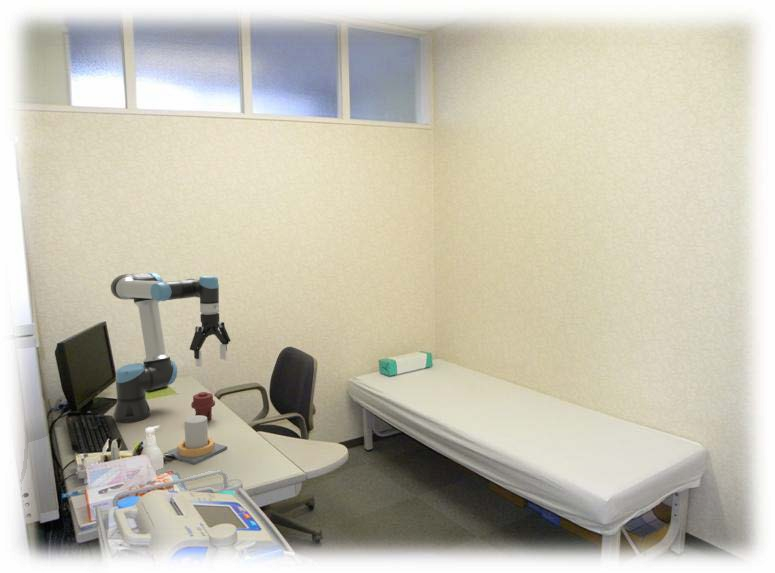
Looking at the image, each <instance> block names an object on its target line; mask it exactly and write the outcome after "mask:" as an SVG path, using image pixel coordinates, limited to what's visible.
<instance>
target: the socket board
mask: <svg viewBox="0 0 775 573" xmlns="http://www.w3.org/2000/svg"><path fill="white" fill-rule="evenodd" d="M176 446H177V447H175V448H173V449H170V450H168V451H165V452H164V455H165V454H174V455H175V457H176V458H177V459H176V460H179V461H183V462H185V463H189V464H192V465H197V464H200V463H201V462H203V461H206V460H207V459H209V458H212V457H213V456H215V455H217V454H220V453H221V452H224V451H226V450H228V446H227V445H224V444H220V443H216V441H215V440H214V439H213V438H212V437H209V436H208V445H206V446H204V447H201V448H196V449H188V448H185V439H183V440H181V441H180V442H179V443H178V444H177V445H176Z"/></svg>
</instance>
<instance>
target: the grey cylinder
mask: <svg viewBox="0 0 775 573" xmlns="http://www.w3.org/2000/svg"><path fill="white" fill-rule="evenodd" d="M208 431H209V430H208V420H207V417H206V416H202V415H197V416H195V415H191V416H188V417H186V418H185V419H184V440H185V448H188V449H196V448H201V447H204V446H206V445H208V437H209V435H208Z"/></svg>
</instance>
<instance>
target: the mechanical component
mask: <svg viewBox="0 0 775 573" xmlns="http://www.w3.org/2000/svg"><path fill="white" fill-rule="evenodd" d="M190 405H191V406H190V408H192V409H194V412H195V415H194V416H197V415H202V416H206V417H207V421H211V420H212V418H213V417H212V416H213V415H212V409H213V407H214V406H215V405H216V400H214V394H213V393H211V392H207V391H201V392H198V393H196V394H194V395H193V396H192V402H191V404H190Z"/></svg>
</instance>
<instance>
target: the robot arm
mask: <svg viewBox="0 0 775 573" xmlns="http://www.w3.org/2000/svg"><path fill="white" fill-rule="evenodd" d="M219 287H220V284H219V277H217V276H216V275H202V276H200V277H199V279H194V278H186V279H183V280H174V281H163V278H162V276H161V275H159V274H158V273H156V272H140V273H130V274H129V273H127V274H121V275H118V276H117V277H114V279H113V280H112V282H111V284H110V291H111V293H112V295H113V296H114V297H115V298H117V299H120V300H124V301H126V300H133V304H134V305H136V306H137V308H138V313H139V320H140V326H141V327H140V328H141V332H142V339H143V340H142V341H143V346H144V352H145V353H144V354H145V358H144V360H142V363H140V362H136V363H135V362H134V363H130V364H129V363H128V364H126V365H123V366H121V367H119V368H117V370H116V372H115V387H116V388H115V389H116V405H115V409H114V412H113V414H112V415H113V421H115V422H116V423H135V422H139V421H143V420H146V419H147V418H149V417H150V416H151V409H150V405H149V403H148V401H147V398H146V392H148V391H150V390H151V391H152V390H154V389H155V390H156V389H159V388H165V387H168V386H169V385H172V384H173V383H174V382H175V381H176V379H177V377H178V366H177V364H176V362H175V361H174V360H173V359H171V357H170V355H168V354H167V353H166V347H165V340H164V334H163V327H162V320H161V314H160V307H159V302H166V301H172V300H180V299H181V300H182V299H189V298H199V306H200V307H199V308H200V309H199V312H200V315H199V317H200V323H201V326H195V332H194V334H193V337H192V339H191V340H192V341H191V342H190V343H191V344H190V347H189V350H190V351H193V357H194V359H195V367H200V368H201V367H202V366H203V362H202V357H203V356H202V350H201V349H202V347H203V345H204V343H205V341H206V339H207V338H209V336H212V335H214V336H215V337H216V338H217V340H219V342H220V344H219V350H220V351H219V359H220V360H227V352H228V351H227V350H228V349H227V347H228V346H227V345H229V343H230V342H231V339H230V336H229V334H228V332H227V329H226V327H225V322H224V321H220V313H219V312H220V298H219V297H220V295H219V294H220V293H219V292H220V291H219V290H220V288H219Z"/></svg>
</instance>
